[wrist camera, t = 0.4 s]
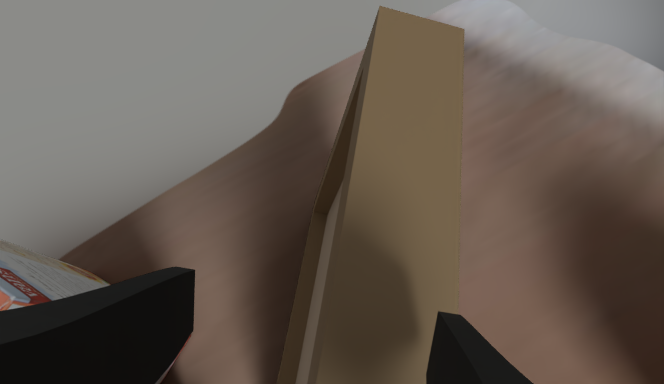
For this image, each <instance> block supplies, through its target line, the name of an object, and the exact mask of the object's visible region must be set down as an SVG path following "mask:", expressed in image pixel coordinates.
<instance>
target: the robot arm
mask: <svg viewBox="0 0 664 384" xmlns="http://www.w3.org/2000/svg"><path fill="white" fill-rule="evenodd" d="M194 288H195V270H193V269H187V268H181V267H171V268H166V269H162V270H159V271H155V272H152V273H148V274H145V275H142V276H138V277H135V278H132V279H129V280H125V281H122V282H119V283H116V284H112V285H109V286H106V287H102V288H98V289H95V290H91V291H88V292H84V293H80V294H77V295H73V296H70V297H66V298H62V299H58V300H53V301H49V302H44V303H40V304H35V305H30V306H25V307H20V308H15V309H9V310H2V311H0V384H155V383H156V382H157V381H158V380H159V379H160V377H161V376H162V375H163V374H164V373H165V371H166V370H167V369H168V368H169V366H170V365H171V364H172V363H173V361H174V360H175V359H176V357H177V356H178V354H179V353H180V351H181V350H182V348H183V347H184V345H185V343H186V342H187V340H188V338H189V337H190V335H191V333H192V332H193V323H194ZM426 384H533V383H532V382H531V381H530V380H528V379H527V378H526V377H525V376H524V375H523V374H522V373H520V372H519V371H518V370H517V369H516V368H515V367H514V366H513V365H512V364H510V363H509V362H508V361H507V360H506V359H505V358H504V357H503V356H502V355H501V354H500V353H499V352H498V351H497V350H496V349H495V348H494V347H493V346H492V345H491V344H490V343H489V342H488V341H487V340H486V339H485V338H484V337H483V336H482V335H481V334H480V333H479V332H478V331H477V330H476V329H475V328H474V327H473V326H472V325H471V324H470V323H469V322H468V321H467V320H466V319H465V318H463V317H462V316H461V315H458V314H452V313H446V312H440V311H438V314H437V319H436V324H435V330H434V335H433V340H432V345H431V351H430V356H429V361H428V366H427V371H426Z"/></svg>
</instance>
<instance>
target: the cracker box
mask: <svg viewBox="0 0 664 384" xmlns="http://www.w3.org/2000/svg"><path fill="white" fill-rule="evenodd" d="M109 285H111V284H109V283H107V282H106V281H104V280H103V279H101V278H99V277H98V276H96V275H94V274H93V273H91V272H89V271H87V270H84V269H81V268H79V267H76V266H73V265H70V264H68V263H65V262H62V261H60V260H57V259H54V258H51V257H48V256H46V255H43V254H40V253H37V252H35V251H32V250H29V249H26V248H23V247H20V246H18V245H15V244H12V243H9V242H6V241H4V240H2V239H0V311H2V310H9V309H15V308H20V307H25V306H30V305H35V304H40V303H44V302H49V301H53V300H58V299H62V298H66V297H70V296H73V295H77V294H80V293H84V292H88V291H91V290H95V289H98V288H102V287H106V286H109ZM190 337H191V335H190ZM190 337H189V338H190ZM189 338H188V340H189ZM188 340H187V341H188ZM186 343H187V342H186ZM186 343H185V345H186ZM185 345H184V346H185ZM183 348H184V347H183ZM183 348H182V349H183ZM181 351H182V350H181ZM181 351H180V352H181ZM179 354H180V353H179ZM179 354H178V356H179ZM178 356H177V357H178ZM177 357H176V359H177ZM176 359H175V360H176ZM175 360H174V361H173V363H172V364H171V365H170V366H169V368H168V369H167V370H166V371H165V373H164V374H163V375H162V376H161V377H160V379H159V380H158V381H157V382H156V383H155V384H161V382H162V381H163V379H164V378H165V376H166V375H167V373H168V372H169V370H170V368H171V367H172V365H173V364H174V362H175Z"/></svg>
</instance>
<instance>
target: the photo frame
mask: <svg viewBox="0 0 664 384" xmlns="http://www.w3.org/2000/svg"><path fill="white" fill-rule="evenodd" d="M463 68H464V29H462V28H458V27H455V26H451V25H447V24H444V23H440V22H437V21H433V20H429V19H426V18H422V17H418V16H415V15H411V14H408V13H404V12H400V11H396V10H393V9H389V8H386V7H382V6H380V7H379V10H378V13H377V16H376V19H375V22H374V25H373V28H372V31H371V34H370V37H369V40H368V43H367V46H366V49H365V52H364V55H363V58H362V61H361V64H360V67H359V70H358V73H357V76H356V79H355V82H354V85H353V88H352V91H351V94H350V97H349V100H348V103H347V106H346V109H345V112H344V115H343V118H342V121H341V124H340V127H339V130H338V133H337V136H336V139H335V142H334V145H333V148H332V151H331V154H330V157H329V160H328V163H327V166H326V169H325V172H324V175H323V178H322V181H321V184H320V187H319V190H318V193H317V196H316V199H315V202H314V207H313V212H312V217H311V221H310V226H309V231H308V236H307V240H306V245H305V250H304V255H303V259H302V264H301V269H300V274H299V278H298V283H297V288H296V293H295V297H294V302H293V307H292V312H291V316H290V321H289V326H288V331H287V335H286V340H285V345H284V349H283V354H282V359H281V364H280V368H279V373H278V378H277V383H276V384H426V371H427V366H428V361H429V356H430V351H431V345H432V340H433V335H434V330H435V324H436V319H437V314H438V311H440V312H446V313H452V314H458V298H459V252H460V206H461V160H462V114H463Z"/></svg>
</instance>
